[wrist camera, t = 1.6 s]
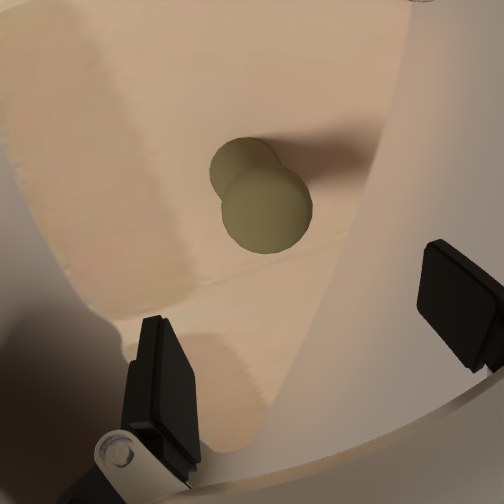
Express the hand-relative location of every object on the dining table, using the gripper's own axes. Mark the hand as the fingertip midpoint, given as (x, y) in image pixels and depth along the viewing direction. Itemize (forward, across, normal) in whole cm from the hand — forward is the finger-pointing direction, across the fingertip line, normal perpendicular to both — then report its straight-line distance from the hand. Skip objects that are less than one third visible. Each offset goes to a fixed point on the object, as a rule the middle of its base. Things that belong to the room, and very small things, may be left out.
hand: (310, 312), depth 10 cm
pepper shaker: (+18, -1, -1) cm, 18 cm away
